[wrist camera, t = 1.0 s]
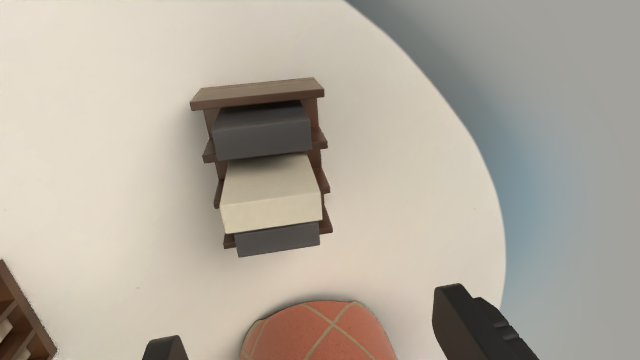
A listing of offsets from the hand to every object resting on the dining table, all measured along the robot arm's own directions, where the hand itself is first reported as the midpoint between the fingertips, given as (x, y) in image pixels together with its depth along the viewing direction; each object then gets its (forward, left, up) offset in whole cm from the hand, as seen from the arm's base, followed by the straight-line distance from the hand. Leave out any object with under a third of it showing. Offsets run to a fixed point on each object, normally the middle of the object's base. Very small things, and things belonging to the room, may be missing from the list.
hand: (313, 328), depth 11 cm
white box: (+2, -1, -20) cm, 20 cm away
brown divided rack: (+2, -1, -21) cm, 21 cm away
